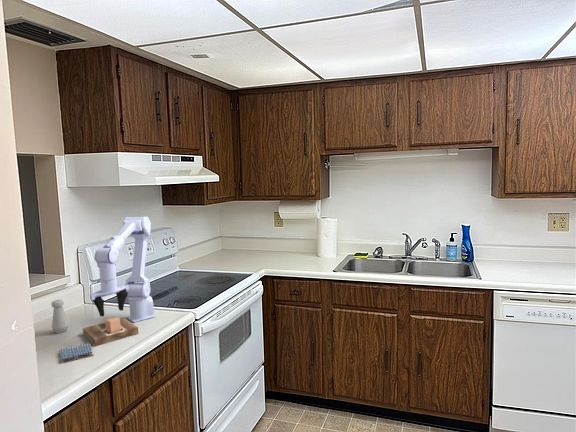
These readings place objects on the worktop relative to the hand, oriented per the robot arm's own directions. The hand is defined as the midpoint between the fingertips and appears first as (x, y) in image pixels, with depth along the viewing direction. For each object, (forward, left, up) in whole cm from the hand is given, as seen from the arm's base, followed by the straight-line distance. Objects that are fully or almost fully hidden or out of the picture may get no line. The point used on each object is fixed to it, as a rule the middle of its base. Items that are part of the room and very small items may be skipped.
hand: (111, 312), depth 164 cm
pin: (0, +1, -9) cm, 9 cm away
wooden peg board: (0, -3, -9) cm, 10 cm away
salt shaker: (+14, -21, -10) cm, 27 cm away
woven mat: (+15, +7, -10) cm, 20 cm away
